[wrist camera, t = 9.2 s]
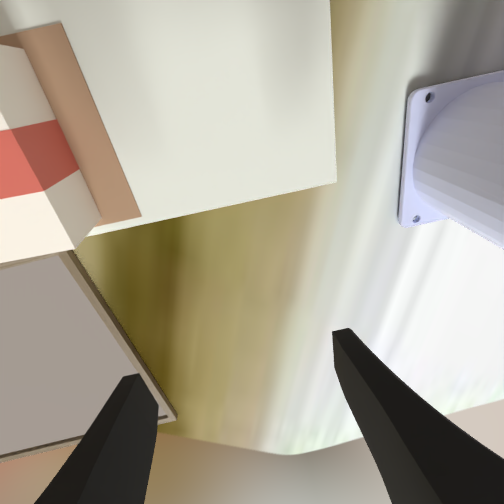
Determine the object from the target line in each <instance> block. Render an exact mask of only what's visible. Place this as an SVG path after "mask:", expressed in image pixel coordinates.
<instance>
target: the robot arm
mask: <svg viewBox="0 0 504 504" xmlns="http://www.w3.org/2000/svg"><path fill="white" fill-rule="evenodd" d="M428 93H430V99H429V100H428V102H426V101H425V98H426V95H427V94H428ZM415 216H417V217H416V219H415V220H413V218H414V217H415ZM449 218H450V219H452V220H453V221H455V222H457V223H459V224H460V225H462V226H464V227H466V228H467V229H469V230H471V231H472V232H474V233H476V234H478V235H479V236H481V237H483V238H485V239H486V240H488V241H490V242H492V243H493V244H495V245H497V246H498V247H500V248H502V249H504V70H501V71H496V72H492V73H487V74H483V75H478V76H474V77H469V78H464V79H460V80H455V81H451V82H446V83H442V84H437V85H432V86H428V87H423V88H419V89H416V90H414V91H413V92H412V93H411V94H410V96H409V97H408V102H407V115H406V127H405V140H404V153H403V166H402V179H401V192H400V205H399V218H398V222H399V224H400V225H401V226H402V227H405V228H406V227H412V226H417V225H421V224H426V223H431V222H435V221H440V220H445V219H449ZM332 336H333V352H334V367H335V371H336V373H337V376H338V379H339V382H340V385H341V388H342V390H343V393H344V396H345V398H346V400H347V402H348V405H349V407H350V409H351V411H352V413H353V415H354V417H355V419H356V422H357V424H358V426H359V428H360V430H361V432H362V434H363V436H364V438H365V441H366V443H367V445H368V447H369V449H370V451H371V453H372V456H373V458H374V460H375V462H376V464H377V466H378V469H379V471H380V473H381V476H382V478H383V481H384V483H385V486H386V489H387V492H388V494H389V497H390V499H391V502H392V504H504V459H503V458H502V457H500V456H499V455H497V454H496V453H494V452H493V451H491V450H490V449H488V448H487V447H485V446H484V445H482V444H481V443H480V442H478V441H477V440H475V439H474V438H473V437H471V436H470V435H469V434H467V433H466V432H464V431H463V430H462V429H460V428H459V427H458V426H456V425H455V424H454V423H452V422H451V421H450V420H448V419H447V418H446V417H445V416H443V415H442V414H441V413H440V412H438V411H437V410H436V409H435V408H433V407H432V406H431V405H430V404H428V403H427V402H426V401H425V400H424V399H422V398H421V397H420V396H419V395H418V394H417V393H415V392H414V391H413V390H412V389H411V388H410V387H409V386H407V385H406V384H405V383H404V382H403V381H402V380H401V379H400V378H399V377H398V376H396V375H395V374H394V373H393V372H392V371H391V370H390V369H389V368H388V367H387V366H386V365H385V364H384V363H383V362H382V361H381V360H380V359H379V358H378V357H377V356H376V355H375V354H374V353H373V352H372V351H371V350H370V349H369V348H368V347H367V346H366V345H365V344H364V343H363V342H362V341H361V340H360V339H359V338H358V336H357V335H356V334H355V333H354V332H353V331H352V330H351V329H349V328H346V329H342V330H337V331H332ZM158 410H159V405H158V403H157V402H156V400H155V398H154V397H153V395H152V393H151V392H150V390H149V388H148V387H147V385H146V383H145V382H144V380H143V378H142V377H141V375H140V373H137V374H132V375H127V376H123V377H122V379H121V380H120V382H119V383H118V385H117V386H116V388H115V389H114V391H113V392H112V394H111V395H110V397H109V398H108V400H107V402H106V403H105V405H104V406H103V408H102V409H101V411H100V412H99V414H98V415H97V417H96V418H95V420H94V421H93V423H92V424H91V426H90V427H89V429H88V430H87V432H86V433H85V435H84V436H83V438H82V439H81V441H80V442H79V444H78V445H77V447H76V448H75V449H74V451H73V452H72V454H71V455H70V456H69V458H68V459H67V461H66V462H65V463H64V465H63V466H62V467H61V469H60V470H59V472H58V473H57V475H56V476H55V477H54V478H53V480H52V481H51V482H50V484H49V485H48V487H47V488H46V489H45V490H44V492H43V493H42V494H41V496H40V497H39V498H38V499H37V501H36V502H35V503H34V504H144V500H145V495H146V489H147V485H148V480H149V474H150V469H151V464H152V458H153V453H154V448H155V442H156V435H157V425H158Z"/></svg>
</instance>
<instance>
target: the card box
mask: <svg viewBox="0 0 504 504" xmlns="http://www.w3.org/2000/svg"><path fill="white" fill-rule="evenodd" d="M101 219H102V217H101V215H100V213H99V211H98V208H97V206H96V204H95V202H94V200H93V198H92V195H91V193H90V191H89V189H88V187H87V185H86V182H85V180H84V178H83V176H82V174H81V172H80V168H79V166H78V164H77V162H76V159H75V157H74V155H73V153H72V151H71V149H70V146H69V144H68V142H67V140H66V138H65V136H64V133H63V131H62V129H61V127H60V125H59V123H58V120H57V119H56V118H55V115H54V113H53V111H52V109H51V107H50V105H49V102H48V100H47V98H46V96H45V94H44V92H43V89H42V87H41V85H40V83H39V81H38V79H37V76H36V74H35V72H34V70H33V68H32V66H31V63H30V61H29V59H28V57H27V55H26V53H25V50H24V49H22V48H16V47H11V46H5V45H0V263H4V262H9V261H14V260H20V259H25V258H30V257H35V256H41V255H46V254H51V253H56V252H62V251H67V250H72V249H76V248H77V246H78V245H79V244H80V243H81V242H82V241H83V239H84V238H85V237H86V236H87V235H88V234H89V232H90V231H91V230H92V229H93V228H94V227H95V225H96V224H97V223H98V222H99V221H100V220H101Z"/></svg>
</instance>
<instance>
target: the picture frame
mask: <svg viewBox="0 0 504 504" xmlns="http://www.w3.org/2000/svg"><path fill="white" fill-rule="evenodd" d="M137 373H140V375H141V377H142V378H143V380H144V382H145V383H146V385H147V387H148V388H149V390H150V392H151V393H152V395H153V397H154V398H155V400H156V402H157V403H158V405H159V410H158V424H163V423H167V422H171V421H175V420H177V413H176V412H175V410H174V409H173V407H172V405H171V404H170V402H169V401H168V399H167V398H166V396H165V394H164V393H163V391H162V390H161V388H160V387H159V385H158V384H157V382H156V380H155V379H154V377H153V376H152V374H151V373H150V371H149V369H148V368H147V366H146V365H145V363H144V362H143V360H142V359H141V357H140V355H139V354H138V352H137V351H136V349H135V348H134V346H133V344H132V343H131V341H130V340H129V338H128V337H127V335H126V334H125V332H124V330H123V329H122V327H121V326H120V324H119V323H118V321H117V319H116V318H115V316H114V315H113V313H112V312H111V310H110V309H109V307H108V305H107V304H106V302H105V301H104V299H103V298H102V296H101V294H100V293H99V291H98V290H97V288H96V287H95V285H94V284H93V282H92V280H91V279H90V277H89V276H88V274H87V273H86V271H85V270H84V268H83V266H82V265H81V263H80V262H79V260H78V259H77V257H76V255H75V254H74V252H73V251H72V250H67V251H62V252H56V253H51V254H46V255H41V256H35V257H30V258H25V259H20V260H14V261H9V262H4V263H0V463H1V462H6V461H10V460H14V459H18V458H22V457H26V456H30V455H34V454H38V453H43V452H47V451H51V450H55V449H59V448H63V447H67V446H71V445H76V444H79V442H80V441H81V439H82V438H83V436H84V435H85V433H86V432H87V430H88V429H89V427H90V426H91V424H92V423H93V421H94V420H95V418H96V417H97V415H98V414H99V412H100V411H101V409H102V408H103V406H104V405H105V403H106V402H107V400H108V398H109V397H110V395H111V394H112V392H113V391H114V389H115V388H116V386H117V385H118V383H119V382H120V380H121V379H122V377H123V376H127V375H132V374H137Z"/></svg>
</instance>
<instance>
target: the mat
mask: <svg viewBox="0 0 504 504" xmlns="http://www.w3.org/2000/svg"><path fill="white" fill-rule="evenodd" d="M0 45H5V46H11V47H16V48H22V49H24V50H25V53H26V55H27V57H28V59H29V61H30V63H31V66H32V68H33V70H34V72H35V74H36V76H37V79H38V81H39V83H40V85H41V87H42V89H43V92H44V94H45V96H46V98H47V100H48V102H49V105H50V107H51V109H52V111H53V113H54V115H55V118H56V119H57V120H58V123H59V125H60V127H61V129H62V131H63V133H64V136H65V138H66V140H67V142H68V144H69V146H70V149H71V151H72V153H73V155H74V157H75V159H76V162H77V164H78V166H79V168H80V172H81V174H82V176H83V178H84V180H85V182H86V185H87V187H88V189H89V191H90V193H91V195H92V198H93V200H94V202H95V204H96V206H97V208H98V211H99V213H100V215H101V217H102V219H101V220H100V221H99V222H98V223H97V224H96V225H95V227H94V228H93V229H92V230H91V231H90V232H89V234H88V235H87V236H92V235H96V234H101V233H106V232H110V231H115V230H119V229H124V228H129V227H133V226H138V225H142V224H147V223H152V222H156V221H161V220H165V219H170V218H175V217H179V216H184V215H188V214H193V213H197V212H202V211H207V210H211V209H216V208H220V207H225V206H230V205H234V204H239V203H243V202H248V201H253V200H257V199H262V198H266V197H271V196H276V195H280V194H285V193H289V192H294V191H299V190H303V189H308V188H312V187H317V186H322V185H326V184H331V183H335V182H337V173H336V148H335V122H334V96H333V71H332V45H331V19H330V0H0ZM87 236H86V237H87Z"/></svg>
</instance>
